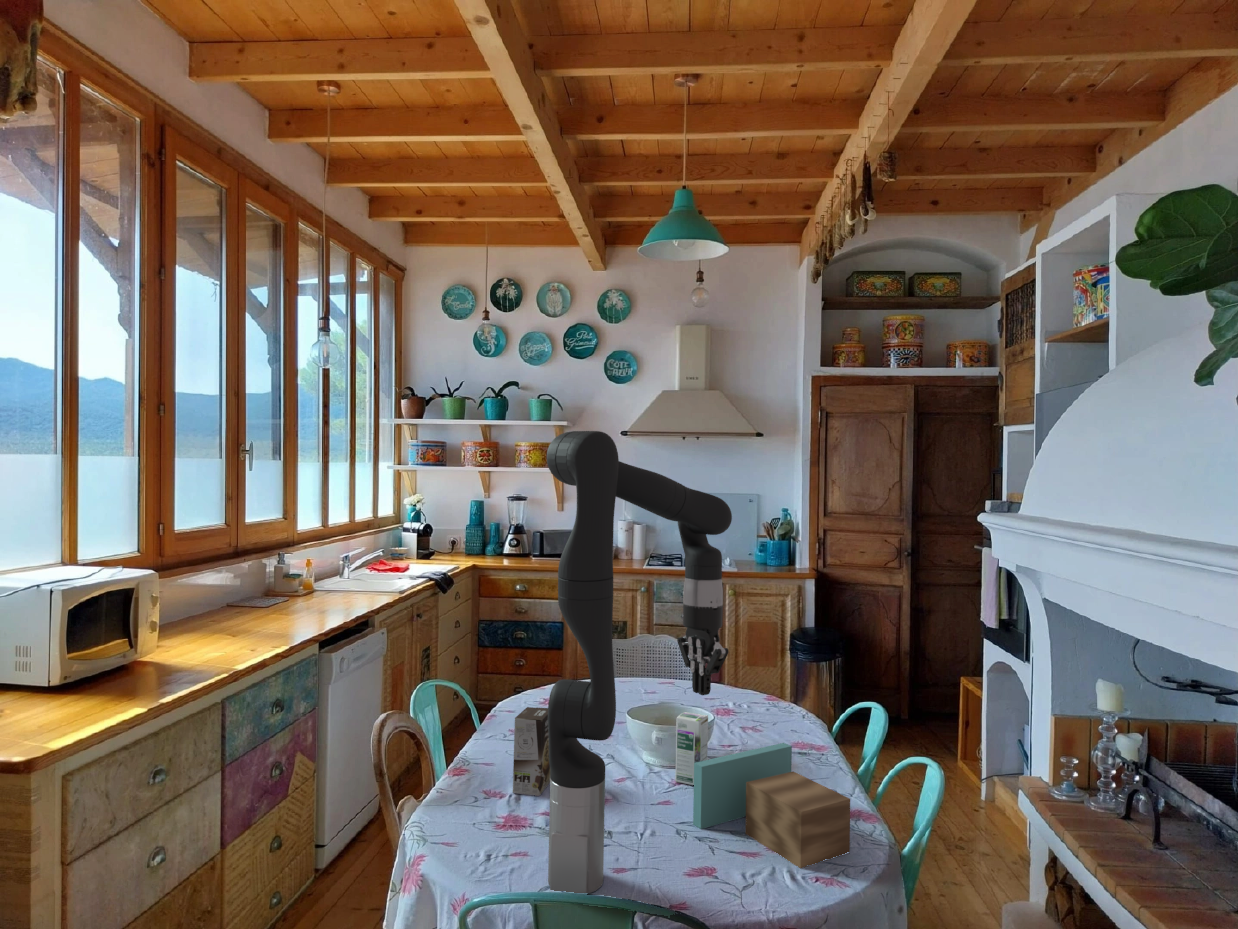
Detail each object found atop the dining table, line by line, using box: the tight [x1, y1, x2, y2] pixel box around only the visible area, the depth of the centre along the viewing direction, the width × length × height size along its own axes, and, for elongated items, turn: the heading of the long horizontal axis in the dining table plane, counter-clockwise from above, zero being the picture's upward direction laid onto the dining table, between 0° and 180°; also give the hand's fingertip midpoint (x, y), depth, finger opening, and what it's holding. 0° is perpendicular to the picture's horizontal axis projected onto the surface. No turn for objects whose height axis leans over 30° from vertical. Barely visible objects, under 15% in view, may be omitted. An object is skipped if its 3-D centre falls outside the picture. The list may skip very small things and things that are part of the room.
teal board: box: [692, 742, 793, 830], centre depth 158 cm, size 2×24×12 cm, turn 122°
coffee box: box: [512, 706, 550, 797], centre depth 169 cm, size 9×6×16 cm
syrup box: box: [674, 711, 709, 786], centre depth 175 cm, size 6×6×14 cm
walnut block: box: [744, 771, 851, 869], centre depth 145 cm, size 15×12×10 cm
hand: (701, 693), depth 148 cm, fingers closed
